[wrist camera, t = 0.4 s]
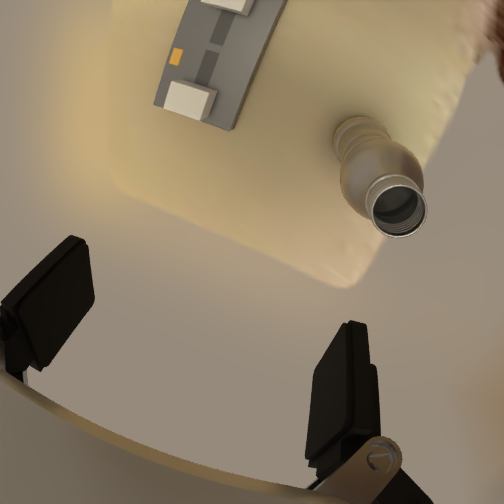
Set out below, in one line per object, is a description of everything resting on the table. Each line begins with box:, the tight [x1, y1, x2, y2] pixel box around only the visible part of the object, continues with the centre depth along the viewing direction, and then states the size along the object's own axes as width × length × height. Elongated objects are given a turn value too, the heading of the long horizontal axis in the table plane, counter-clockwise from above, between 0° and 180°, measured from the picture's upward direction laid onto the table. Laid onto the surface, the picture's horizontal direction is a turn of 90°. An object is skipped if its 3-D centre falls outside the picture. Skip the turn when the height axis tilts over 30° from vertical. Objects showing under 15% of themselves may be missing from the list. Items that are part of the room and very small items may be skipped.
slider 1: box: [163, 80, 217, 121], centre depth 31 cm, size 3×4×3 cm
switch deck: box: [154, 0, 287, 132], centre depth 28 cm, size 26×10×2 cm, turn 159°
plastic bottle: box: [333, 116, 427, 238], centre depth 26 cm, size 6×7×20 cm
